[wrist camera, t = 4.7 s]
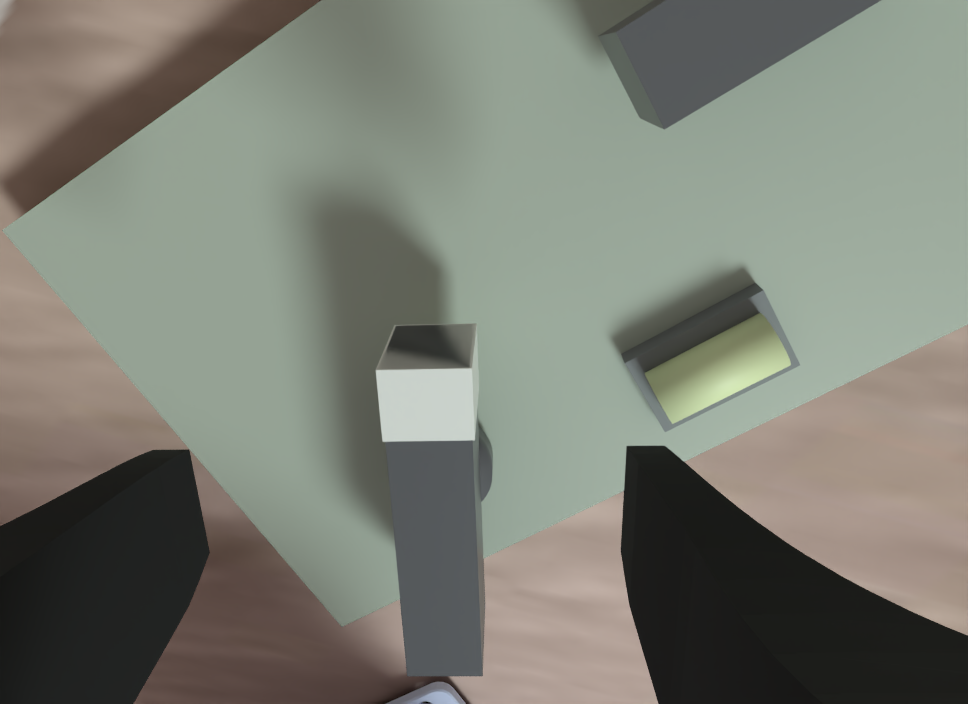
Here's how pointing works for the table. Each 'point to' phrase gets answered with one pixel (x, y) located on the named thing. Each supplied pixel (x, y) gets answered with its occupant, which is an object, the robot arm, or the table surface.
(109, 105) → the table surface
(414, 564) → the knob
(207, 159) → the base plate
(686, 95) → the knob
